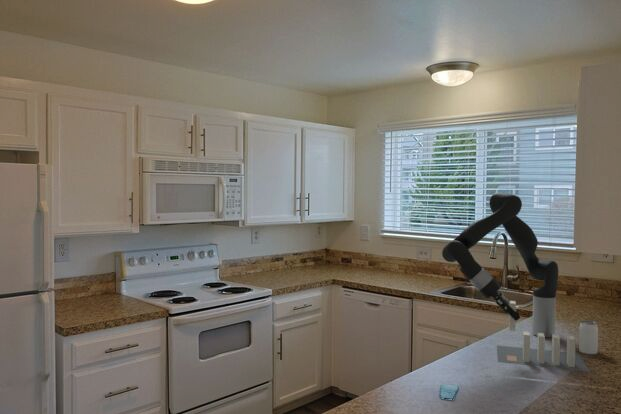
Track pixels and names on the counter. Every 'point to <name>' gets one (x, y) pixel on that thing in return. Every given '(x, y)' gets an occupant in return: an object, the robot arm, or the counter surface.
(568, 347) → the domino
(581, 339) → the can
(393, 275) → the counter surface
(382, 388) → the counter surface
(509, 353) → the slate mat
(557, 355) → the domino
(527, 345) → the domino
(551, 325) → the robot arm
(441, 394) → the sponge
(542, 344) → the domino
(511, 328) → the domino
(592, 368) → the counter surface
